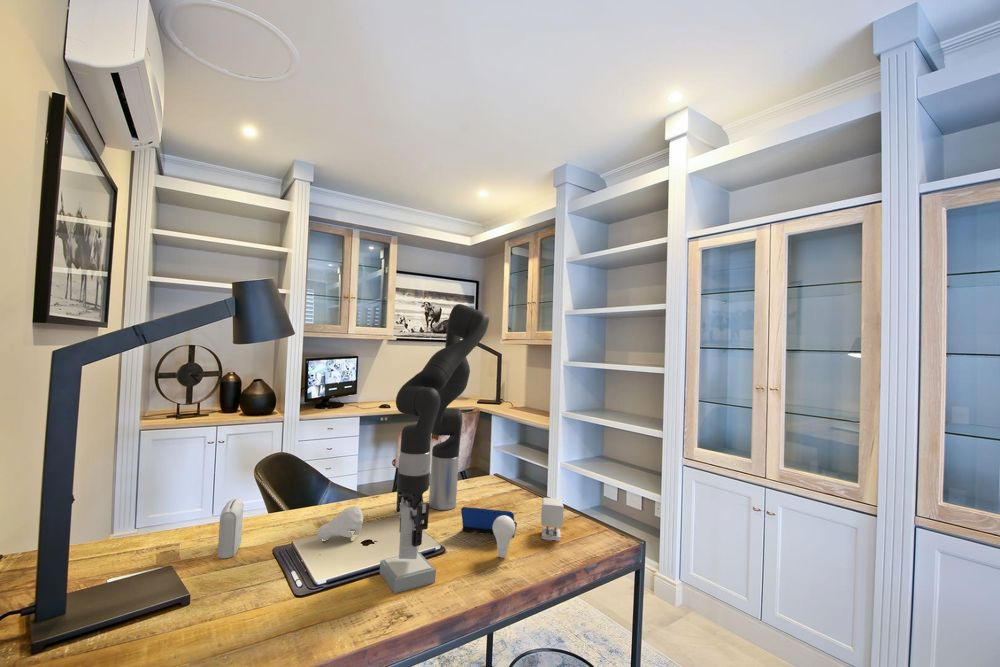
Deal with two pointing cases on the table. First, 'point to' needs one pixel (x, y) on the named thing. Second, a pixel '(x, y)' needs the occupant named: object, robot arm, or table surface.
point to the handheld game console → (482, 519)
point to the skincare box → (407, 535)
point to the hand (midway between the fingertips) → (410, 538)
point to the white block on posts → (552, 518)
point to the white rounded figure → (343, 524)
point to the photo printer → (230, 528)
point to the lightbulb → (503, 533)
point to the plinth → (407, 572)
